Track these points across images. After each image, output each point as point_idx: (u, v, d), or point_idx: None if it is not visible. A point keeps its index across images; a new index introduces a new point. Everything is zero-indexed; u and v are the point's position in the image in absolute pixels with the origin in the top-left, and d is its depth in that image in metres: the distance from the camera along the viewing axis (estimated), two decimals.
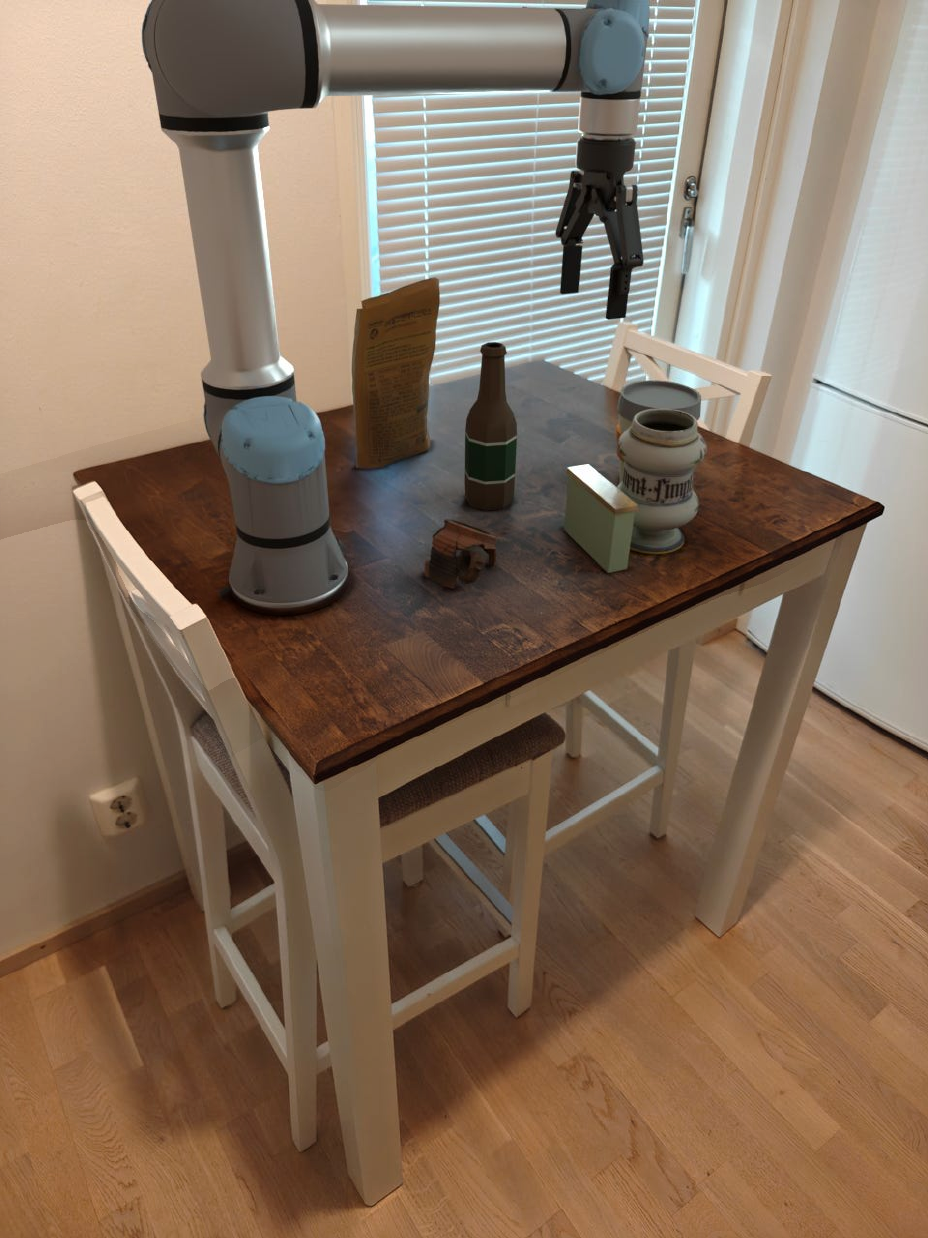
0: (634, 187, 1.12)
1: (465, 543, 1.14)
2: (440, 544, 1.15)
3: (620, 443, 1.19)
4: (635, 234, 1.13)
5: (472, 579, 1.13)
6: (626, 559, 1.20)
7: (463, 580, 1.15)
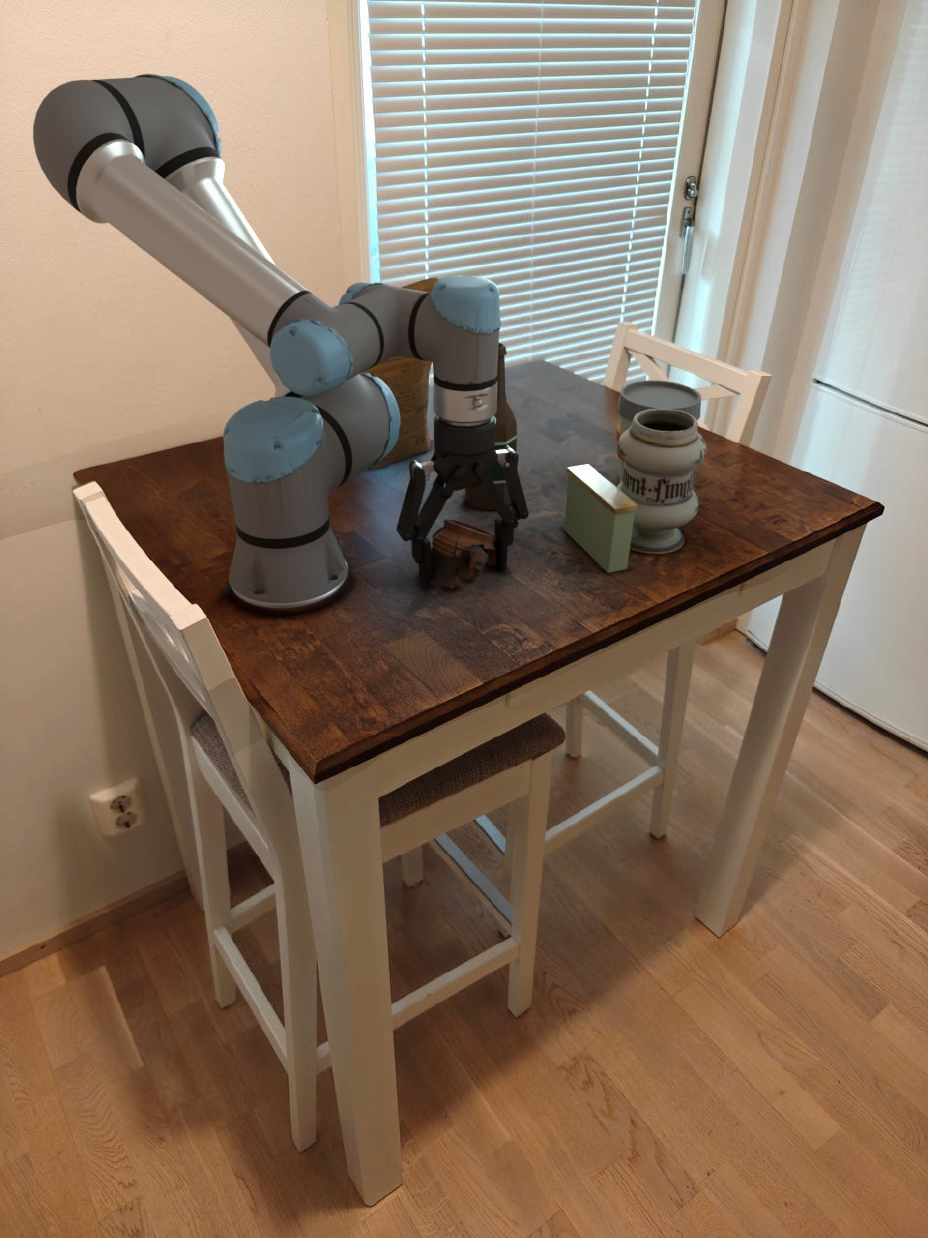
0: (414, 470, 1.07)
1: (465, 543, 1.14)
2: (440, 544, 1.15)
3: (620, 443, 1.19)
4: (406, 510, 1.10)
5: (472, 579, 1.13)
6: (626, 559, 1.20)
7: (463, 580, 1.15)
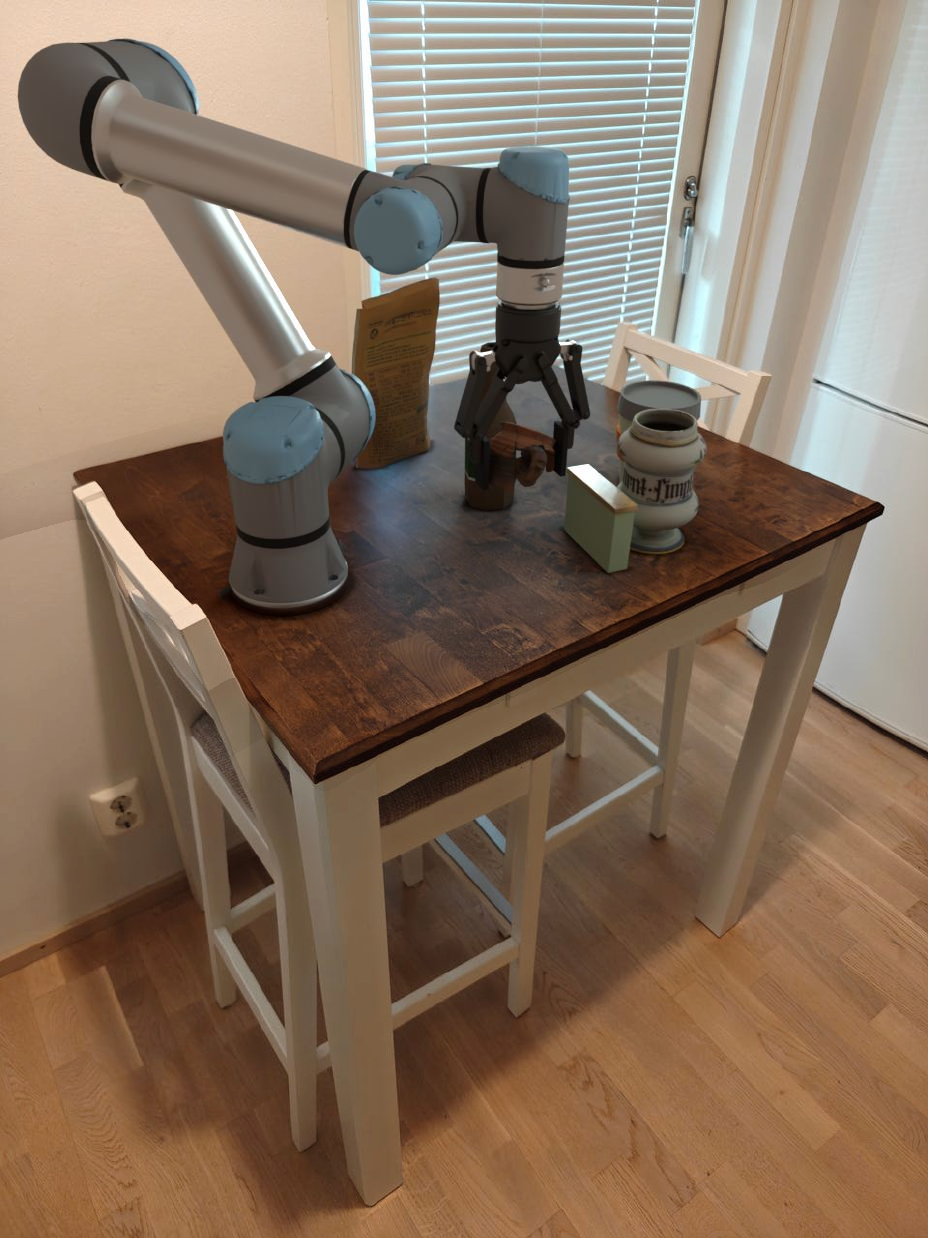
0: (475, 359, 1.02)
1: (524, 443, 1.09)
2: (498, 445, 1.10)
3: (620, 443, 1.19)
4: (466, 405, 1.05)
5: (532, 480, 1.08)
6: (626, 559, 1.20)
7: (522, 482, 1.10)
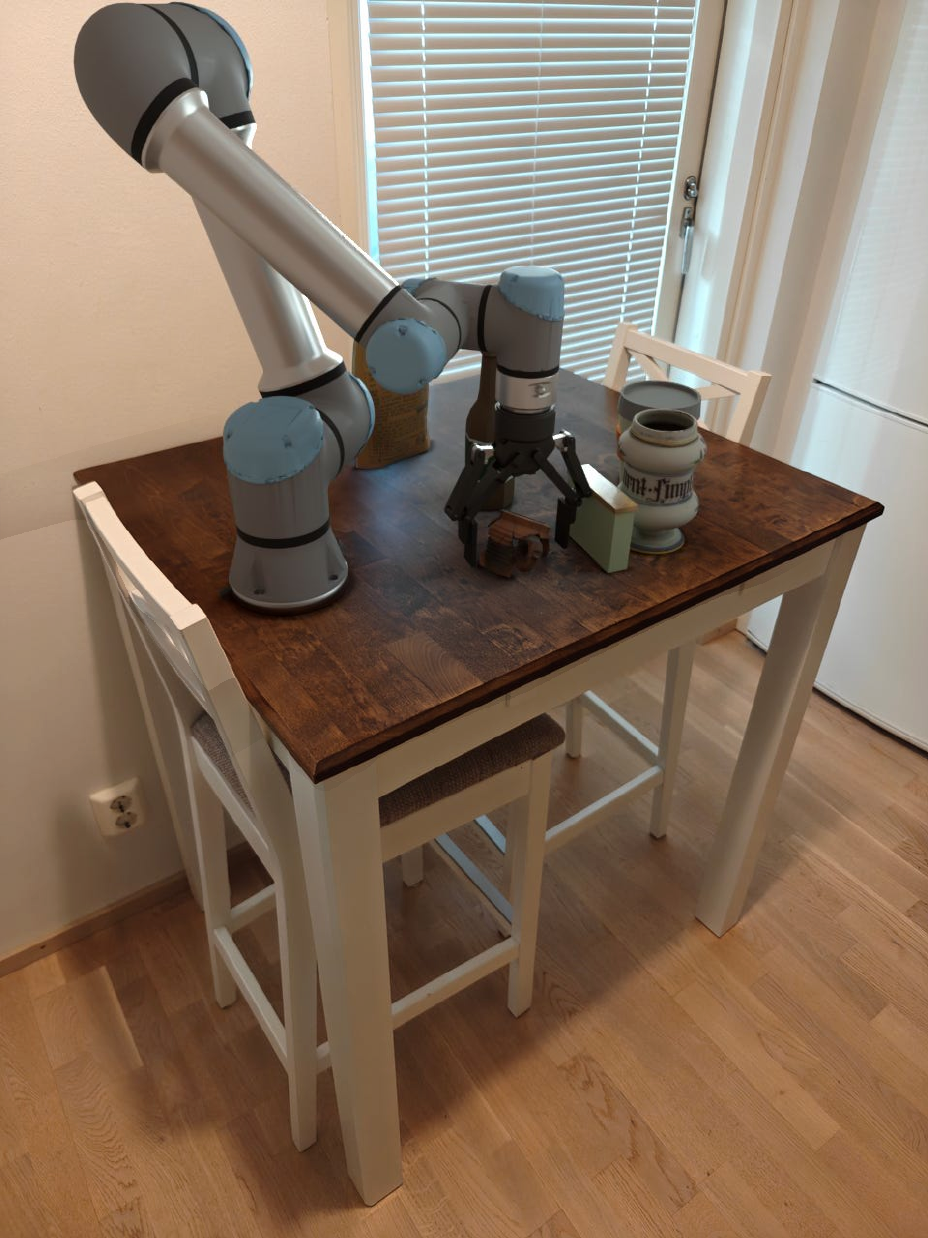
0: (476, 451, 1.08)
1: (522, 532, 1.17)
2: (497, 534, 1.18)
3: (620, 443, 1.19)
4: (459, 491, 1.11)
5: (529, 568, 1.16)
6: (626, 559, 1.20)
7: (519, 569, 1.17)
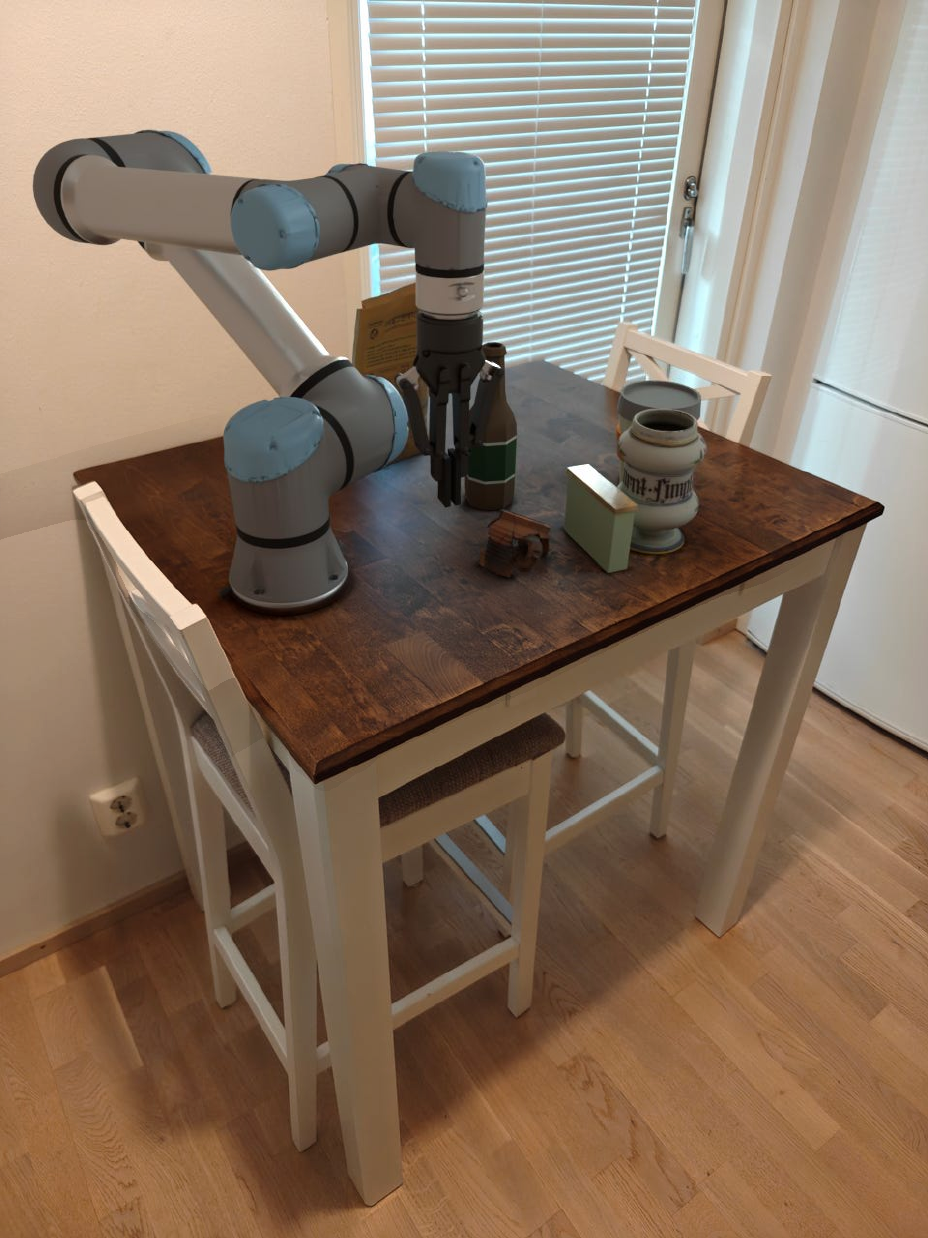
0: (399, 385, 1.00)
1: (521, 532, 1.17)
2: (497, 533, 1.18)
3: (620, 443, 1.19)
4: (413, 426, 1.04)
5: (529, 568, 1.16)
6: (626, 559, 1.20)
7: (519, 569, 1.17)
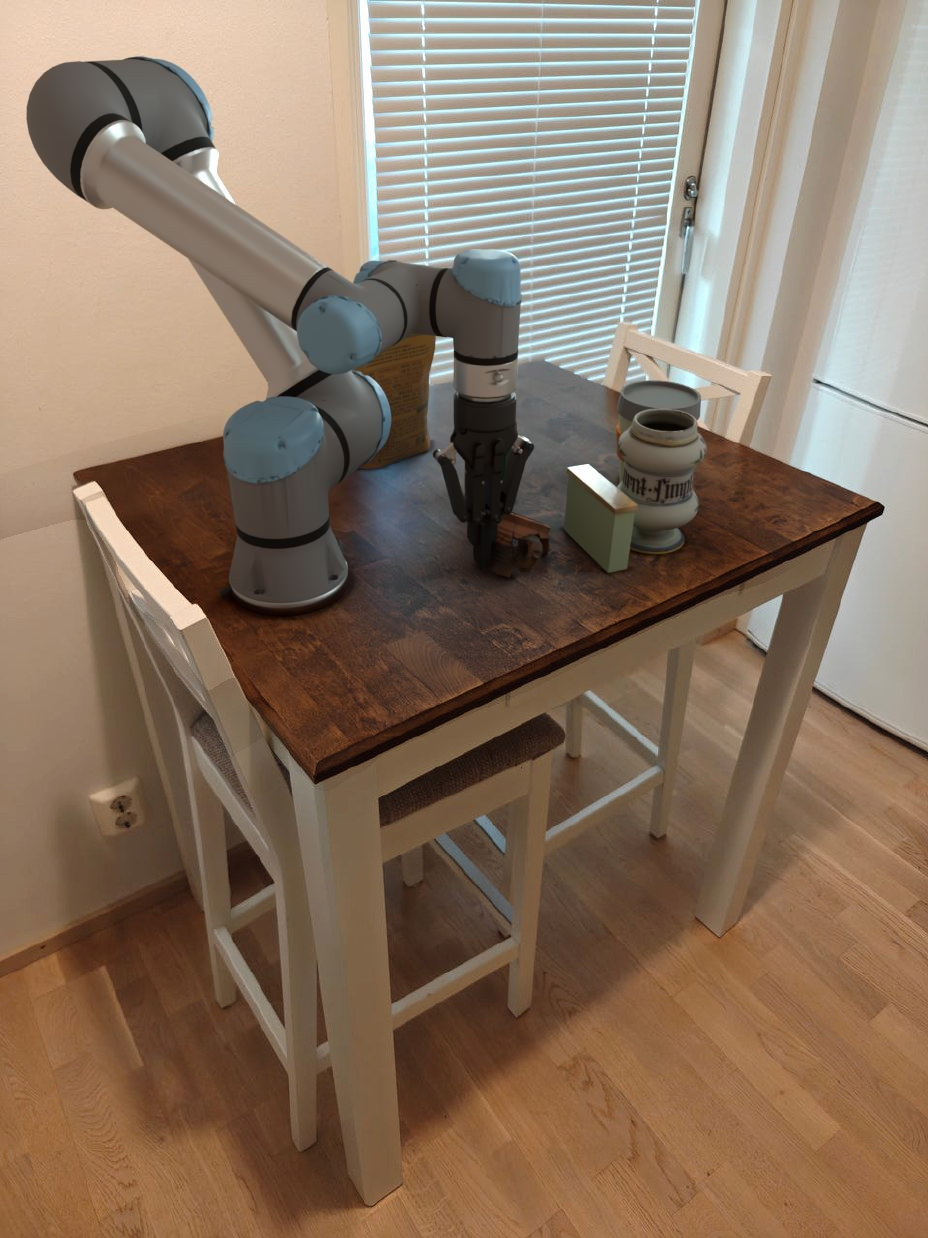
0: (438, 461, 1.07)
1: (521, 532, 1.17)
2: (497, 534, 1.18)
3: (620, 443, 1.19)
4: (451, 496, 1.11)
5: (529, 568, 1.16)
6: (626, 559, 1.20)
7: (519, 569, 1.17)
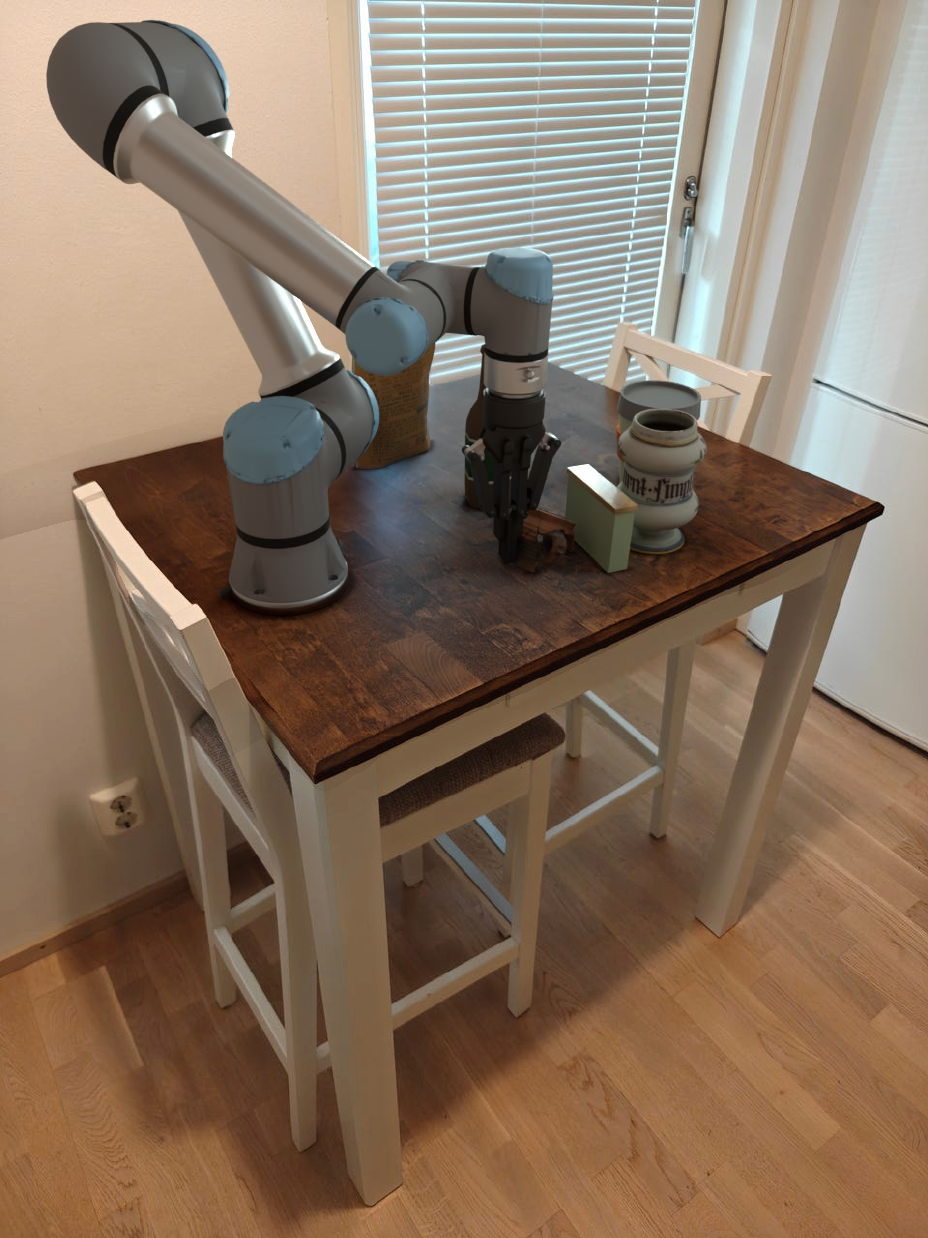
0: (467, 457, 1.08)
1: (546, 528, 1.18)
2: None
3: (620, 443, 1.19)
4: (479, 492, 1.12)
5: (553, 563, 1.17)
6: (626, 559, 1.20)
7: (543, 564, 1.18)
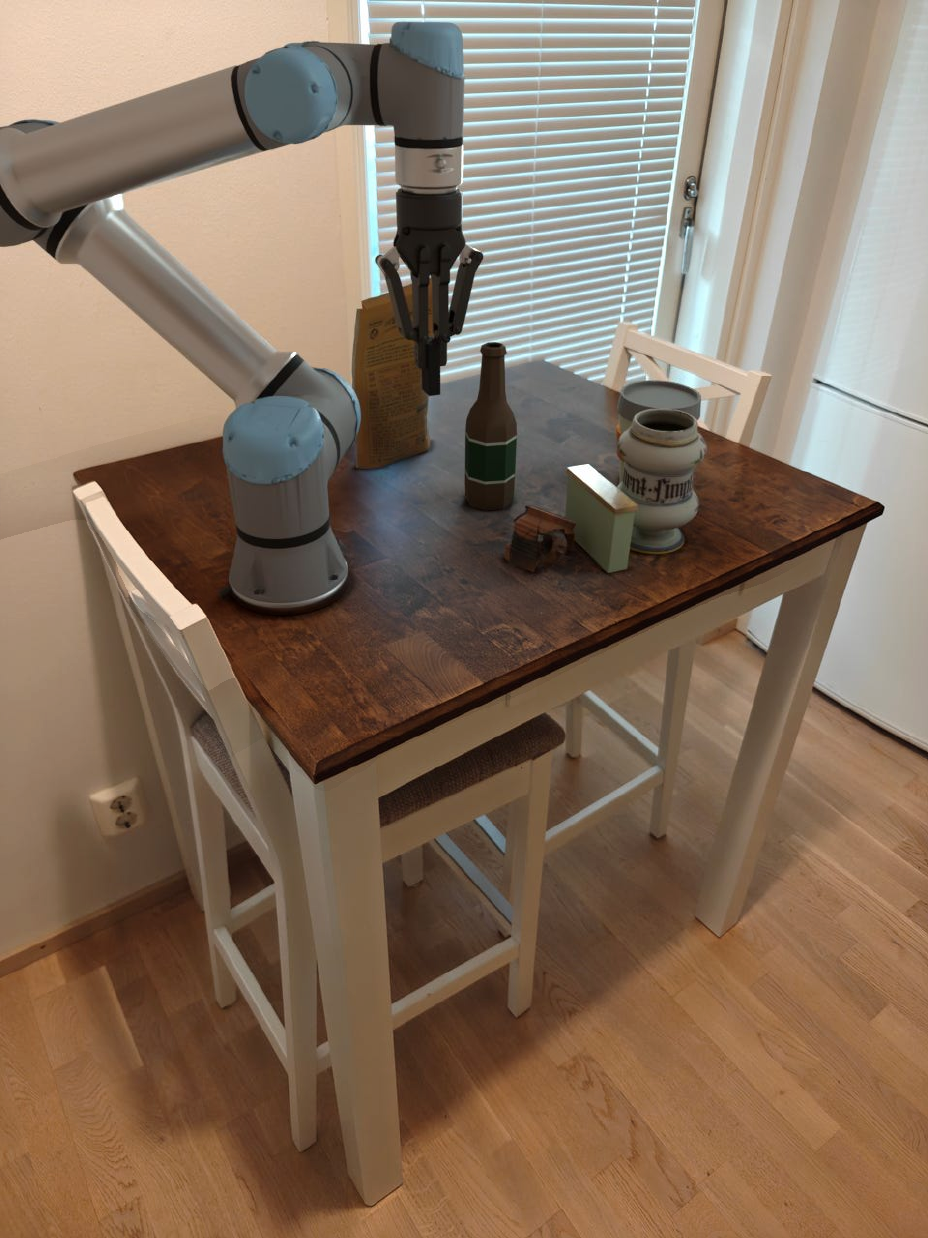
0: (380, 264, 1.01)
1: (546, 528, 1.18)
2: (522, 528, 1.19)
3: (620, 443, 1.19)
4: (396, 309, 1.05)
5: (553, 562, 1.17)
6: (626, 559, 1.20)
7: (544, 563, 1.18)
